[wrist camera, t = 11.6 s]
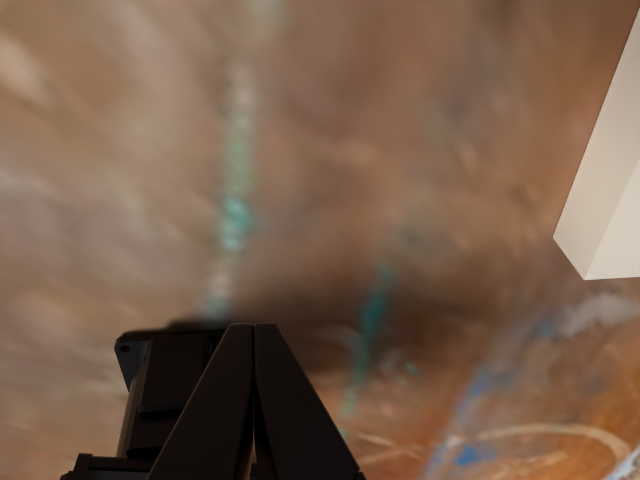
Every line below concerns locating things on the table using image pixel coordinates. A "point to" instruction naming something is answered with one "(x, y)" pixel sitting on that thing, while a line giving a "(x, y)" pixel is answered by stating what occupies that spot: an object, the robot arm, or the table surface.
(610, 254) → the block
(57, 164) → the table surface
